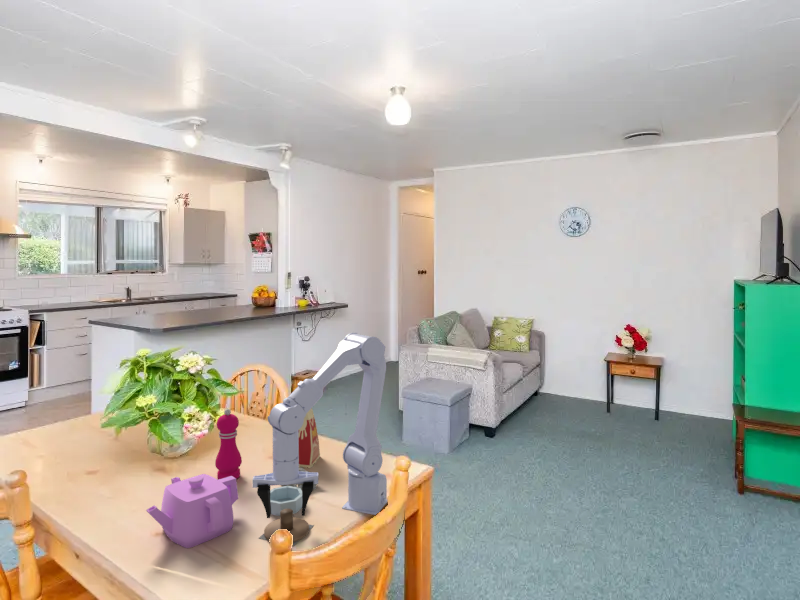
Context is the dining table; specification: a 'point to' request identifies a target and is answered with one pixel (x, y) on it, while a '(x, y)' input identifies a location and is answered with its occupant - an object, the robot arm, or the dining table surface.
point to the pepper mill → (228, 447)
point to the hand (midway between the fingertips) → (286, 514)
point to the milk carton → (308, 441)
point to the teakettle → (196, 509)
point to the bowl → (285, 499)
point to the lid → (288, 525)
